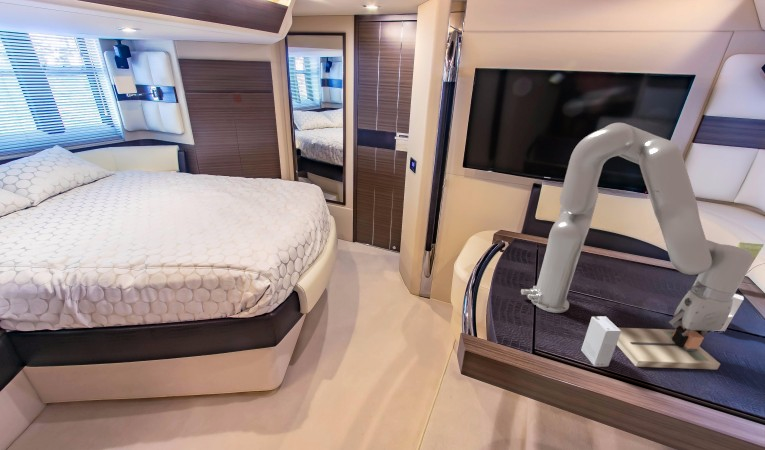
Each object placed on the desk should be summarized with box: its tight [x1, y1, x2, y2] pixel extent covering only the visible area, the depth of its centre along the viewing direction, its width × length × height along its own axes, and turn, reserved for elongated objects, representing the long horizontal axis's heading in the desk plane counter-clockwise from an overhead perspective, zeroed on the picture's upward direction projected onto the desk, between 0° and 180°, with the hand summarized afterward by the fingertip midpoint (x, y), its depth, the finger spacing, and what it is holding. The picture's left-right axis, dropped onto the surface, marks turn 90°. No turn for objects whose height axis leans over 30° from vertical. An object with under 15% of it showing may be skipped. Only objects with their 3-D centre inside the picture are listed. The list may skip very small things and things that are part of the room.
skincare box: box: [581, 315, 621, 368], centre depth 86 cm, size 6×4×12 cm
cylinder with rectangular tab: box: [718, 293, 745, 332], centre depth 102 cm, size 9×9×12 cm
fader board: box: [616, 327, 721, 370], centre depth 92 cm, size 22×13×2 cm, turn 89°
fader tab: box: [671, 326, 705, 351], centre depth 90 cm, size 3×5×5 cm, turn 179°
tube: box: [737, 242, 764, 261], centre depth 119 cm, size 6×5×20 cm
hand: (683, 343), depth 91 cm, fingers closed on fader tab, 3 cm apart
